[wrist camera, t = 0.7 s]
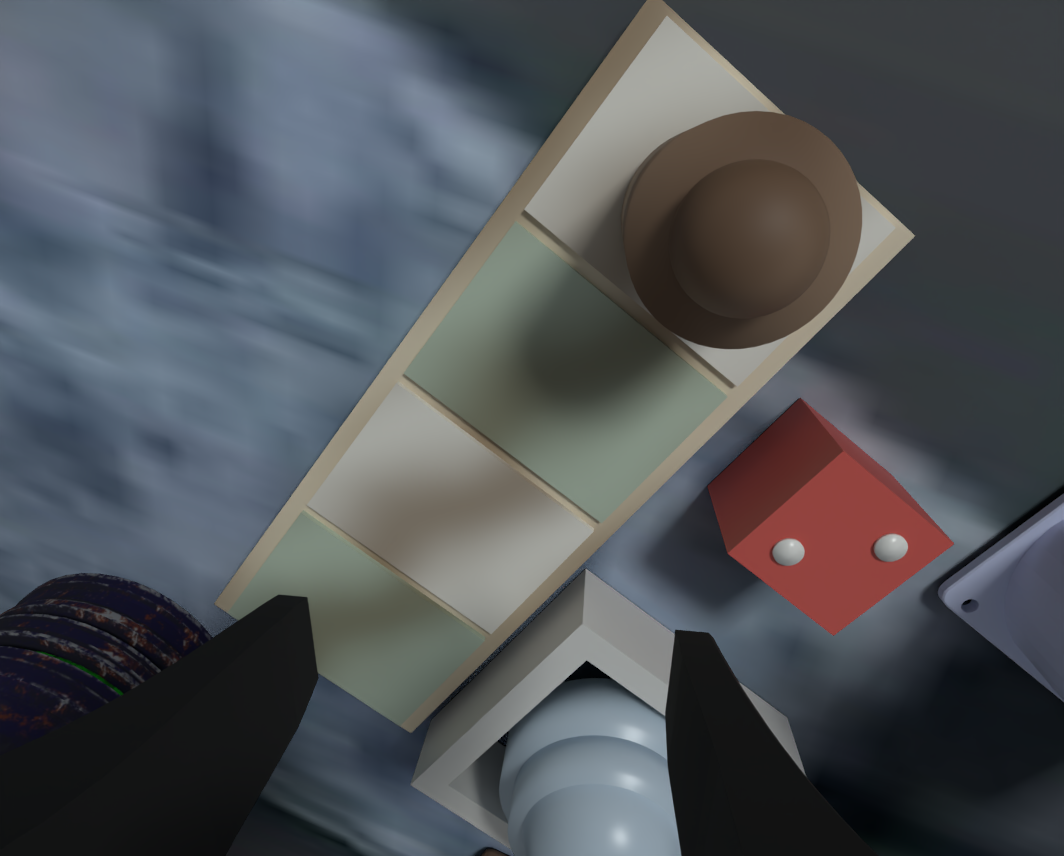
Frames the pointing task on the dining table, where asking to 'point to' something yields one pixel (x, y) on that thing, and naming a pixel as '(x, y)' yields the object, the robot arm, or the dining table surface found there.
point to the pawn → (741, 229)
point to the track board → (522, 403)
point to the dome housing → (533, 673)
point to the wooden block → (492, 853)
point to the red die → (821, 519)
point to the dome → (589, 776)
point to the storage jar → (83, 650)
